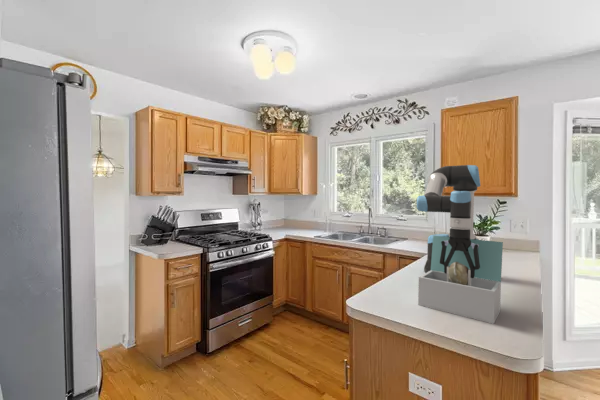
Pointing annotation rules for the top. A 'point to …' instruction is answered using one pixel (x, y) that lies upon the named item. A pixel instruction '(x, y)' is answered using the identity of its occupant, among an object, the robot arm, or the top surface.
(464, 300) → the gray storage box
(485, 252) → the cover
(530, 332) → the top surface
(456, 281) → the garlic bulb
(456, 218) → the robot arm
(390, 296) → the top surface
